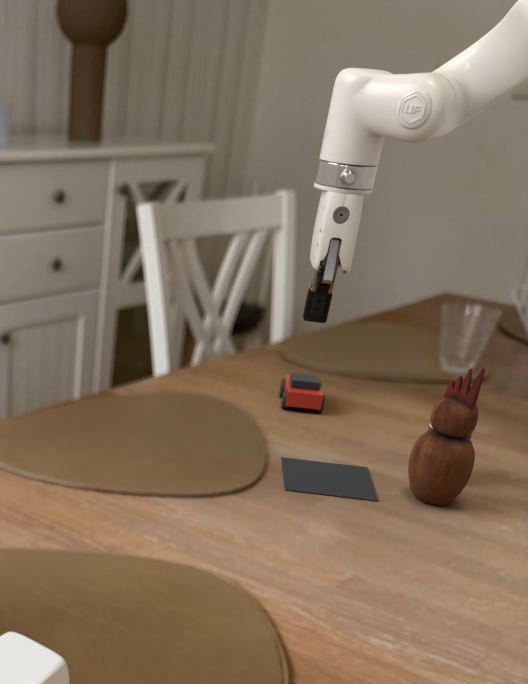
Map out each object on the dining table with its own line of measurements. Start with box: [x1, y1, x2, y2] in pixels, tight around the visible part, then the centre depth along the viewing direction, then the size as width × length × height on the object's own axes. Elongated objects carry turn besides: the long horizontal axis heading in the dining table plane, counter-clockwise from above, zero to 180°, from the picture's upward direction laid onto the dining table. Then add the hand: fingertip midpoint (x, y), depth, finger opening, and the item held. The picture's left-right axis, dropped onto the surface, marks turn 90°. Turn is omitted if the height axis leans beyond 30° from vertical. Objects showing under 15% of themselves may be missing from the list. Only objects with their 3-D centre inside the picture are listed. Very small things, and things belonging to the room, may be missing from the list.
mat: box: [281, 456, 379, 502], centre depth 111 cm, size 10×10×1 cm
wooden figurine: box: [407, 368, 486, 506], centre depth 104 cm, size 7×6×15 cm
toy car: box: [278, 372, 326, 413], centre depth 133 cm, size 8×4×5 cm
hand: (314, 320), depth 137 cm, fingers closed
